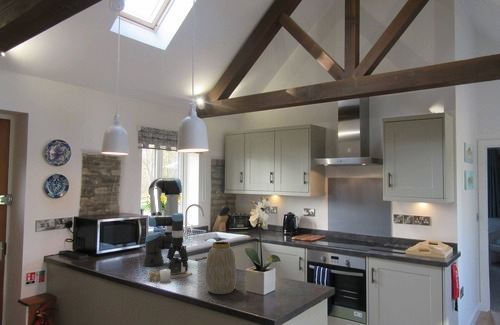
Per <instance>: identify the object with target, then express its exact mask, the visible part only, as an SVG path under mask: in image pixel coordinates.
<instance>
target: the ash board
mask: <svg viewBox="0 0 500 325" xmlns="http://www.w3.org/2000/svg"><path fill="white" fill-rule="evenodd" d="M192 275H193V272H190V271H187V272H180V273H170V280H178V279H181V278H185V277H188V276H192Z"/></svg>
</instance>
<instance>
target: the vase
mask: <svg viewBox="0 0 500 325" xmlns="http://www.w3.org/2000/svg"><path fill="white" fill-rule="evenodd" d="M230 245H231V244H230V242H229V241H215V242H212V247H211V248H210V249H209V251H208V253H207V256H206V264H205V266H206V267H205V284H206V287H207V290H208V291H209V293H211V294H215V295H227V294H230V293H232V292H233V291H234V289H235V287H236V286H237V262H236V255H235V251H234V249H233V248H232V247H231V246H230Z"/></svg>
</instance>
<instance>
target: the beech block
mask: <svg viewBox="0 0 500 325" xmlns="http://www.w3.org/2000/svg"><path fill="white" fill-rule="evenodd" d="M148 276H149V280H148V281H149V282H152V281H153V283H157V282H160V271H152V272H149V275H148Z"/></svg>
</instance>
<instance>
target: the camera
mask: <svg viewBox="0 0 500 325" xmlns="http://www.w3.org/2000/svg"><path fill="white" fill-rule="evenodd" d="M181 262H182V259H181V258H180V257H178V256H174V257H173V258H172V260H171V261H170V262H168V267H167V269H170V270H171V272H170V273H180V272H181ZM188 262H189V261H186V266H185V272H189V270H188V269H189V266H188V265H189V263H188Z"/></svg>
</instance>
